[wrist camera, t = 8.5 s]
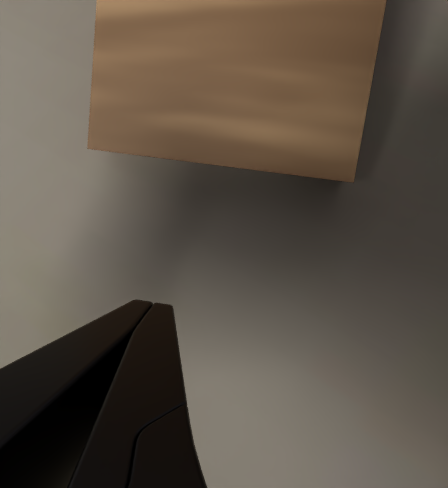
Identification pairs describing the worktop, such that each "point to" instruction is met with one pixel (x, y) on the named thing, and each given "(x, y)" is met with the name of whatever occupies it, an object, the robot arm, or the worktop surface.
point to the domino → (236, 82)
